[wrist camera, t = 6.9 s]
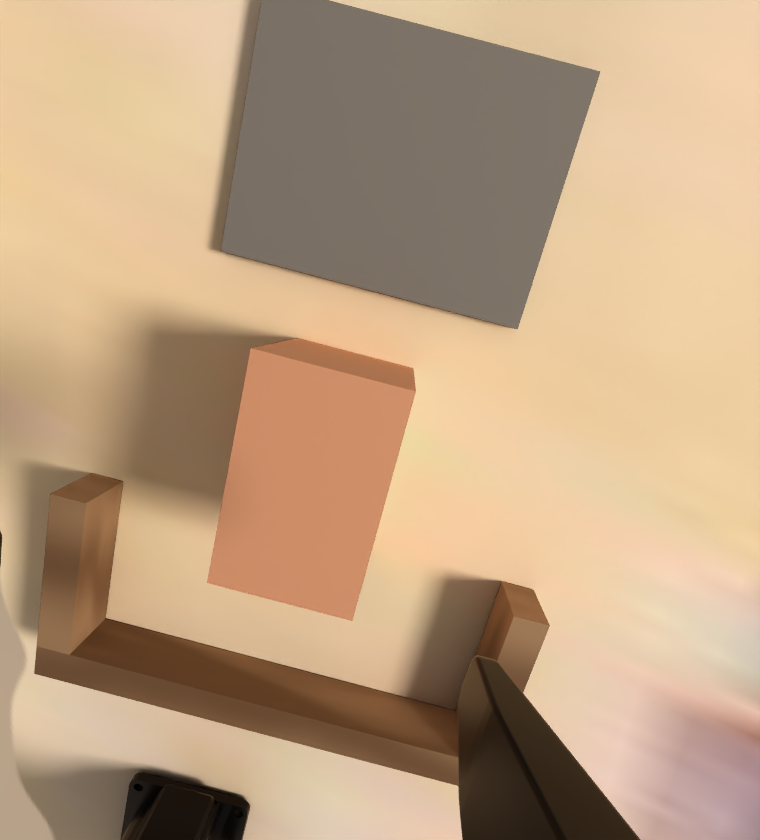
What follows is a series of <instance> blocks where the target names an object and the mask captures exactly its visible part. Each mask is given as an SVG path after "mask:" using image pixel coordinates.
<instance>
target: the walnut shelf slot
mask: <svg viewBox="0 0 760 840" xmlns="http://www.w3.org/2000/svg"><path fill="white" fill-rule="evenodd" d="M122 486H123V481H119V480H115V479H111V478H108V477H104V476H100V475H96V474H92V473H91V474H89V475H87V476H85V477H83V478H81V479H79V480H77V481H75V482H73V483H71V484H69V485H67V486H65V487H63V488H61V489H59V490H57V491H55V492H53V493H51V494H50V503H49V514H48V525H47V537H46V548H45V559H44V570H43V582H42V593H41V604H40V616H39V627H38V638H37V649H36V661H35V672H34V674H38V675H41V676H45V677H49V678H53V679H57V680H60V681H64V682H68V683H72V684H75V685H79V686H83V687H87V688H91V689H94V690H98V691H102V692H106V693H110V694H113V695H117V696H121V697H125V698H128V699H132V700H136V701H140V702H144V703H147V704H151V705H155V706H159V707H162V708H166V709H170V710H174V711H178V712H181V713H185V714H189V715H193V716H196V717H200V718H204V719H208V720H212V721H215V722H219V723H223V724H227V725H231V726H234V727H238V728H242V729H246V730H249V731H253V732H257V733H261V734H265V735H268V736H272V737H276V738H280V739H283V740H287V741H291V742H295V743H299V744H302V745H306V746H310V747H314V748H317V749H321V750H325V751H329V752H333V753H336V754H340V755H344V756H348V757H352V758H355V759H359V760H363V761H367V762H370V763H374V764H378V765H382V766H386V767H389V768H393V769H397V770H401V771H404V772H408V773H412V774H416V775H420V776H423V777H427V778H431V779H435V780H438V781H442V782H446V783H450V784H454V785H457V786H459V778H458V705H457V707H456V710H455V711H453V710H450V709H446V708H442V707H438V706H434V705H431V704H427V703H423V702H419V701H415V700H412V699H408V698H404V697H400V696H397V695H393V694H389V693H385V692H381V691H378V690H374V689H370V688H366V687H362V686H359V685H355V684H351V683H347V682H344V681H340V680H336V679H332V678H328V677H325V676H321V675H317V674H313V673H309V672H306V671H302V670H298V669H294V668H291V667H287V666H283V665H279V664H275V663H272V662H268V661H264V660H260V659H256V658H253V657H249V656H245V655H241V654H238V653H234V652H230V651H226V650H222V649H219V648H215V647H211V646H207V645H203V644H200V643H196V642H192V641H188V640H185V639H181V638H177V637H173V636H169V635H166V634H162V633H158V632H154V631H151V630H147V629H143V628H139V627H135V626H132V625H128V624H124V623H120V622H116V621H113V620H109V619H105V618H106V610H107V603H108V595H109V587H110V579H111V571H112V564H113V556H114V548H115V540H116V533H117V525H118V517H119V509H120V502H121V494H122ZM549 626H550V625H549V623H548V621H547V619H546V617H545V614H544V612H543V610H542V608H541V605H540V603H539V601H538V599H537V597H536V594H535V592H534V590H532V589H528V588H525V587H521V586H517V585H513V584H509V583H506V582H501V585H500V588H499V591H498V594H497V596H496V599H495V602H494V605H493V607H492V610H491V613H490V616H489V618H488V621H487V624H486V627H485V630H484V632H483V635H482V638H481V641H480V643H479V646H478V649H477V652H476V655H479V656H483V657H486V658H490V659H494V660H496V661H497V662H498V663H499V664H500V665H501V666H502V668H503V669H504V670H505V671H506V673H507V674H508V675H509V676H510V678H511V679H512V680H513V681H514V683H515V684H516V685H517V686H518V688H519V689H520V690H521V691H522V693H523V691H524V689H525V686H526V684H527V681H528V679H529V676H530V674H531V671H532V669H533V666H534V664H535V661H536V659H537V656H538V654H539V651H540V649H541V646H542V644H543V641H544V639H545V636H546V634H547V631H548V629H549ZM476 655H475V656H476ZM458 703H459V702H458Z"/></svg>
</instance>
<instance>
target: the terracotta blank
mask: <svg viewBox="0 0 760 840" xmlns="http://www.w3.org/2000/svg"><path fill="white" fill-rule="evenodd" d="M415 392H416V389H415V379H414V370H413V368H410V367H406V366H402V365H398V364H394V363H391V362H387V361H383V360H379V359H375V358H372V357H368V356H364V355H360V354H356V353H352V352H349V351H345V350H341V349H337V348H333V347H330V346H326V345H322V344H318V343H314V342H311V341H307V340H303V339H299V338H296V339H291V340H287V341H282V342H277V343H273V344H268V345H263V346H259V347H254V348H251V349H250V355H249V360H248V365H247V371H246V376H245V381H244V387H243V392H242V398H241V403H240V408H239V414H238V419H237V425H236V430H235V435H234V441H233V446H232V451H231V457H230V462H229V468H228V473H227V478H226V484H225V489H224V495H223V500H222V505H221V511H220V516H219V521H218V527H217V532H216V538H215V543H214V548H213V554H212V559H211V565H210V570H209V575H208V581H207V583H210V584H214V585H218V586H221V587H225V588H229V589H233V590H237V591H240V592H244V593H248V594H252V595H256V596H260V597H263V598H267V599H271V600H275V601H279V602H282V603H286V604H290V605H294V606H298V607H301V608H305V609H309V610H313V611H317V612H320V613H324V614H328V615H332V616H336V617H340V618H343V619H347V620H351V621H352V620H353V616H354V613H355V609H356V605H357V602H358V598H359V594H360V591H361V587H362V584H363V580H364V576H365V573H366V569H367V566H368V562H369V558H370V555H371V551H372V548H373V544H374V540H375V537H376V533H377V529H378V526H379V522H380V519H381V515H382V511H383V508H384V504H385V501H386V497H387V493H388V490H389V486H390V483H391V479H392V475H393V472H394V468H395V464H396V461H397V457H398V454H399V450H400V446H401V443H402V439H403V436H404V432H405V428H406V425H407V421H408V418H409V414H410V410H411V407H412V403H413V399H414V396H415Z"/></svg>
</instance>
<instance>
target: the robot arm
mask: <svg viewBox="0 0 760 840" xmlns="http://www.w3.org/2000/svg"><path fill="white" fill-rule="evenodd" d="M1 548H2V534H1V532H0V565H1ZM458 778H459V806H460V818H461V828H462V838H463V840H640V839H639V837H638V836H637V835H636V834H635V832H634V831H633V830H632V829H631V827H630V826H629V825H628V824H627V822H626V821H625V820H624V819H623V817H622V816H621V815H620V814H619V812H618V811H617V810H616V809H615V807H614V806H613V805H612V804H611V802H610V801H609V800H608V799H607V797H606V796H605V795H604V794H603V792H602V791H601V790H600V789H599V787H598V786H597V785H596V784H595V782H594V781H593V780H592V779H591V777H590V776H589V775H588V774H587V772H586V771H585V770H584V769H583V767H582V766H581V765H580V764H579V762H578V761H577V760H576V759H575V757H574V756H573V755H572V754H571V752H570V751H569V750H568V749H567V747H566V746H565V745H564V744H563V742H562V741H561V740H560V739H559V738H558V736H557V735H556V734H555V733H554V731H553V730H552V729H551V728H550V726H549V725H548V724H547V723H546V721H545V720H544V719H543V718H542V716H541V715H540V714H539V713H538V711H537V710H536V709H535V708H534V706H533V705H532V704H531V703H530V701H529V700H528V699H527V698H526V696H525V695H524V694H523V693H522V691H521V690H520V689H519V688H518V686H517V685H516V684H515V683H514V681H513V680H512V679H511V678H510V676H509V675H508V674H507V673H506V671H505V670H504V669H503V668H502V666H501V665H500V664H499V663H498V662H497V661H496V660H494V659H490V658H486V657H483V656H479V655H476V656H474V657H473V659H472V660H471V662H470V665H469V668H468V671H467V674H466V676H465V679H464V682H463V685H462V687H461V691H460V695H459V703H458ZM249 811H250V805H249V803H248V802H247V801H246V800H243V799H240V798H236V797H232V796H229V795H225V794H221V793H217V792H214V791H210V790H206V789H202V788H198V787H195V786H191V785H187V784H183V783H180V782H176V781H172V780H168V779H164V778H161V777H157V776H153V775H149V774H146V773H137V774H136V775H135V776H134V777H133V779H132V781H131V783H130V785H129V790H128V797H127V803H126V809H125V816H124V822H123V828H122V834H121V840H242V839H243V835H244V831H245V827H246V823H247V819H248V815H249Z"/></svg>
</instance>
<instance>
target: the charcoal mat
mask: <svg viewBox="0 0 760 840" xmlns="http://www.w3.org/2000/svg"><path fill="white" fill-rule="evenodd" d="M599 74H600V71H596V70H592V69H588V68H584V67H581V66H577V65H573V64H569V63H565V62H562V61H558V60H554V59H550V58H546V57H543V56H539V55H535V54H531V53H527V52H523V51H520V50H516V49H512V48H508V47H504V46H501V45H497V44H493V43H489V42H485V41H481V40H478V39H474V38H470V37H466V36H462V35H459V34H455V33H451V32H447V31H443V30H440V29H436V28H432V27H428V26H424V25H420V24H417V23H413V22H409V21H405V20H401V19H398V18H394V17H390V16H386V15H382V14H378V13H375V12H371V11H367V10H363V9H359V8H356V7H352V6H348V5H344V4H340V3H336V2H333V1H329V0H261V6H260V13H259V19H258V25H257V31H256V37H255V43H254V50H253V56H252V62H251V68H250V74H249V80H248V87H247V93H246V99H245V105H244V111H243V117H242V123H241V130H240V136H239V142H238V148H237V154H236V160H235V167H234V173H233V179H232V185H231V191H230V197H229V204H228V210H227V216H226V222H225V228H224V234H223V241H222V247H221V251H223V252H226V253H229V254H233V255H237V256H241V257H244V258H248V259H252V260H256V261H260V262H263V263H267V264H271V265H275V266H279V267H282V268H286V269H290V270H294V271H298V272H301V273H305V274H309V275H313V276H317V277H320V278H324V279H328V280H332V281H336V282H339V283H343V284H347V285H351V286H355V287H358V288H362V289H366V290H370V291H374V292H377V293H381V294H385V295H389V296H393V297H396V298H400V299H404V300H408V301H412V302H415V303H419V304H423V305H427V306H431V307H434V308H438V309H442V310H446V311H450V312H453V313H457V314H461V315H465V316H469V317H473V318H476V319H480V320H484V321H488V322H492V323H495V324H499V325H503V326H507V327H511V328H514V329H518V326H519V323H520V320H521V317H522V314H523V311H524V307H525V304H526V301H527V298H528V295H529V292H530V289H531V286H532V283H533V279H534V276H535V273H536V270H537V267H538V264H539V261H540V258H541V255H542V251H543V248H544V245H545V242H546V239H547V236H548V233H549V230H550V227H551V223H552V220H553V217H554V214H555V211H556V208H557V205H558V202H559V199H560V195H561V192H562V189H563V186H564V183H565V180H566V177H567V174H568V171H569V168H570V164H571V161H572V158H573V155H574V152H575V149H576V146H577V143H578V140H579V136H580V133H581V130H582V127H583V124H584V121H585V118H586V115H587V112H588V108H589V105H590V102H591V99H592V96H593V93H594V90H595V87H596V84H597V80H598V77H599Z"/></svg>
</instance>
